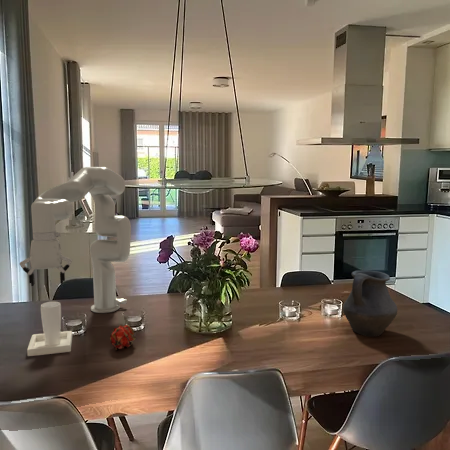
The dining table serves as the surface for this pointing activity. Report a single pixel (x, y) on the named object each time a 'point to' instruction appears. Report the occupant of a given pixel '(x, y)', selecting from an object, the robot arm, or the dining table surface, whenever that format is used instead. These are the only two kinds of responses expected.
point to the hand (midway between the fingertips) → (47, 284)
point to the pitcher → (369, 303)
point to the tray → (40, 348)
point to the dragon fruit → (122, 336)
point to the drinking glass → (51, 322)
